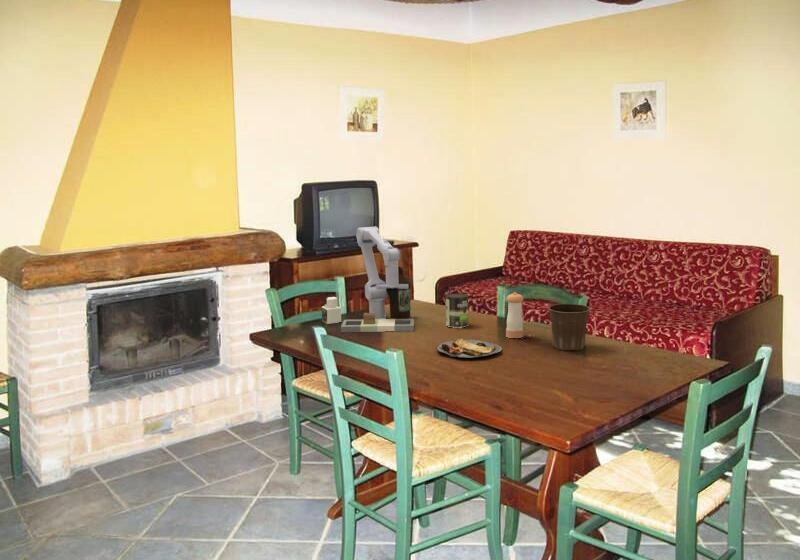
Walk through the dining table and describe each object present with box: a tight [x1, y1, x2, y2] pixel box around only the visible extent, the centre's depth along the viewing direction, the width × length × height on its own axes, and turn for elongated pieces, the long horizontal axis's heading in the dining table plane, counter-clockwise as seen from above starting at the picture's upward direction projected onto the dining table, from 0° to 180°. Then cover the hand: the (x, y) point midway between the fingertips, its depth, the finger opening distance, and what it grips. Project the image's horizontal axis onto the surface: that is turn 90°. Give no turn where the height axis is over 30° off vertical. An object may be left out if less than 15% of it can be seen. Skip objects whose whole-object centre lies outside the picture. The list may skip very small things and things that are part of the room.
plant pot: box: [547, 303, 591, 351], centre depth 298 cm, size 16×16×16 cm
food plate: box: [435, 337, 502, 359], centre depth 295 cm, size 25×23×4 cm
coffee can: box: [445, 292, 469, 329], centre depth 338 cm, size 10×10×14 cm
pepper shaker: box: [505, 291, 524, 339], centre depth 316 cm, size 7×7×19 cm
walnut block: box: [362, 312, 375, 324], centre depth 338 cm, size 5×5×4 cm
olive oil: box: [388, 265, 412, 319], centre depth 355 cm, size 11×11×25 cm
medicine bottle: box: [321, 295, 342, 325], centre depth 352 cm, size 7×7×12 cm
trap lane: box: [340, 318, 415, 333], centre depth 338 cm, size 14×32×2 cm, turn 89°
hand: (392, 304), depth 342 cm, fingers closed
